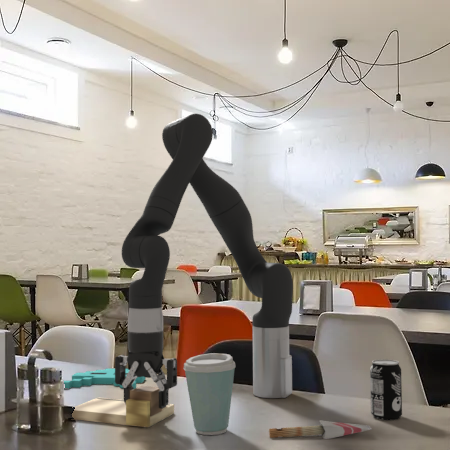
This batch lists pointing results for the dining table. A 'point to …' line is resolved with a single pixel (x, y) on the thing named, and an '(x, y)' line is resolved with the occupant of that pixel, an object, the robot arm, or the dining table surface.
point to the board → (112, 411)
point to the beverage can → (386, 389)
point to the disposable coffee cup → (210, 391)
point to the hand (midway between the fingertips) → (145, 406)
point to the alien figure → (98, 378)
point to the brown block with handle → (142, 405)
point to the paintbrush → (320, 430)
